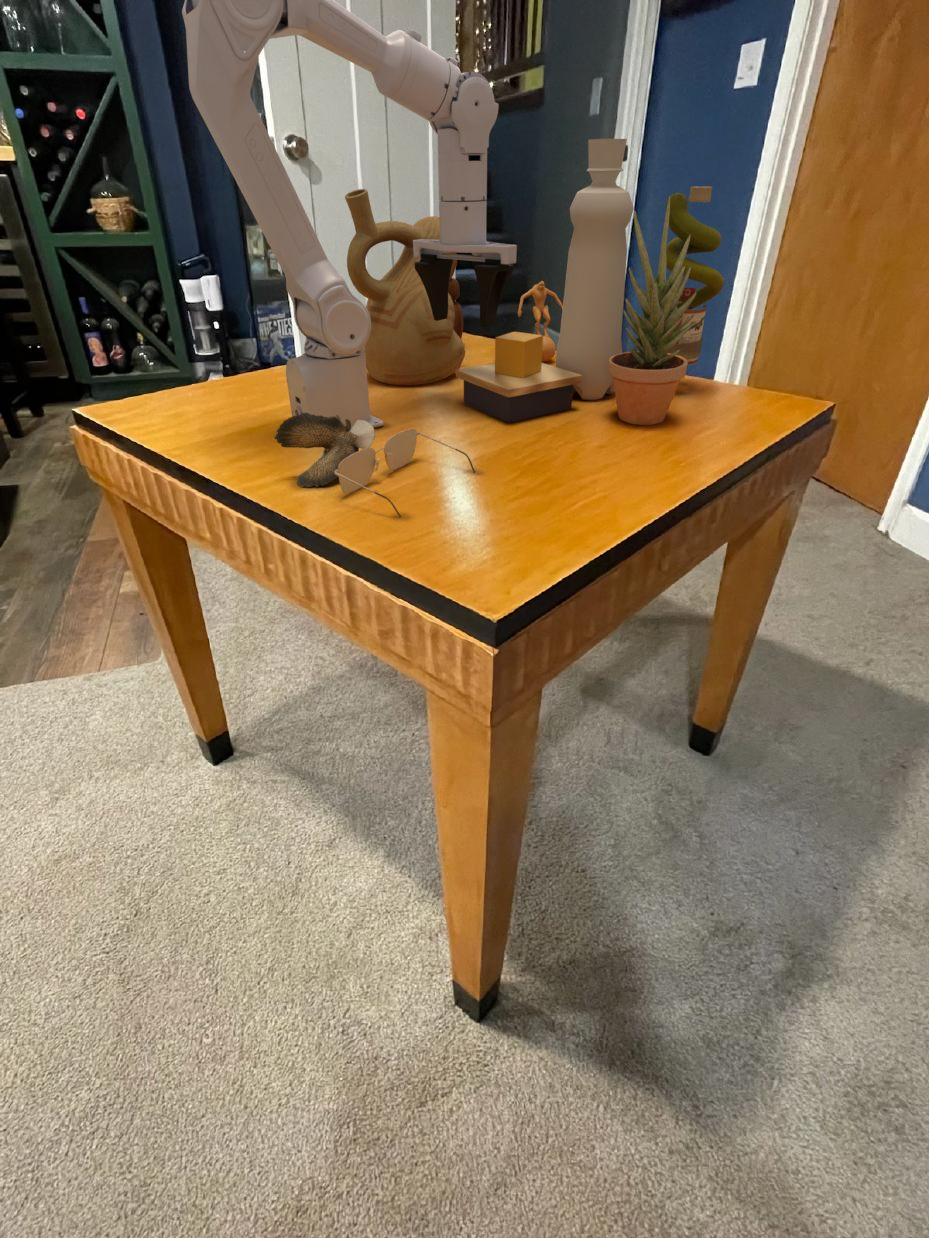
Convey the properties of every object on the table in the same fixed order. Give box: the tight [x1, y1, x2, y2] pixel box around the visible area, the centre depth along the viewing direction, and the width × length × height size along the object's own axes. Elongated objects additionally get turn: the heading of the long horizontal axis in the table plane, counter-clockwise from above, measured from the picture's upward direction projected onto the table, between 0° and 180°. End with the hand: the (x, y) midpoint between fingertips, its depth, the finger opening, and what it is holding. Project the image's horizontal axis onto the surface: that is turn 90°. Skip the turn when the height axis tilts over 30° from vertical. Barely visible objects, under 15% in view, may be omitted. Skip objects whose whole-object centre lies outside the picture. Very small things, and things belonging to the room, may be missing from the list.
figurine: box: [517, 280, 563, 363], centre depth 112 cm, size 8×6×12 cm
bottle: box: [555, 138, 635, 401], centre depth 91 cm, size 9×9×30 cm
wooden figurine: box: [448, 277, 464, 339], centre depth 120 cm, size 7×6×15 cm
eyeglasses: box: [334, 428, 477, 518], centre depth 70 cm, size 14×8×4 cm, turn 147°
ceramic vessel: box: [344, 188, 466, 386], centre depth 101 cm, size 17×20×25 cm
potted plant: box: [609, 195, 696, 426], centre depth 82 cm, size 10×10×25 cm
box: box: [455, 362, 582, 424], centre depth 92 cm, size 12×12×4 cm
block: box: [494, 331, 544, 378], centre depth 90 cm, size 4×4×4 cm
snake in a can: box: [665, 186, 725, 366], centre depth 94 cm, size 12×10×25 cm
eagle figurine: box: [273, 413, 376, 488], centre depth 73 cm, size 8×7×9 cm
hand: (463, 322), depth 90 cm, fingers open, 7 cm apart
